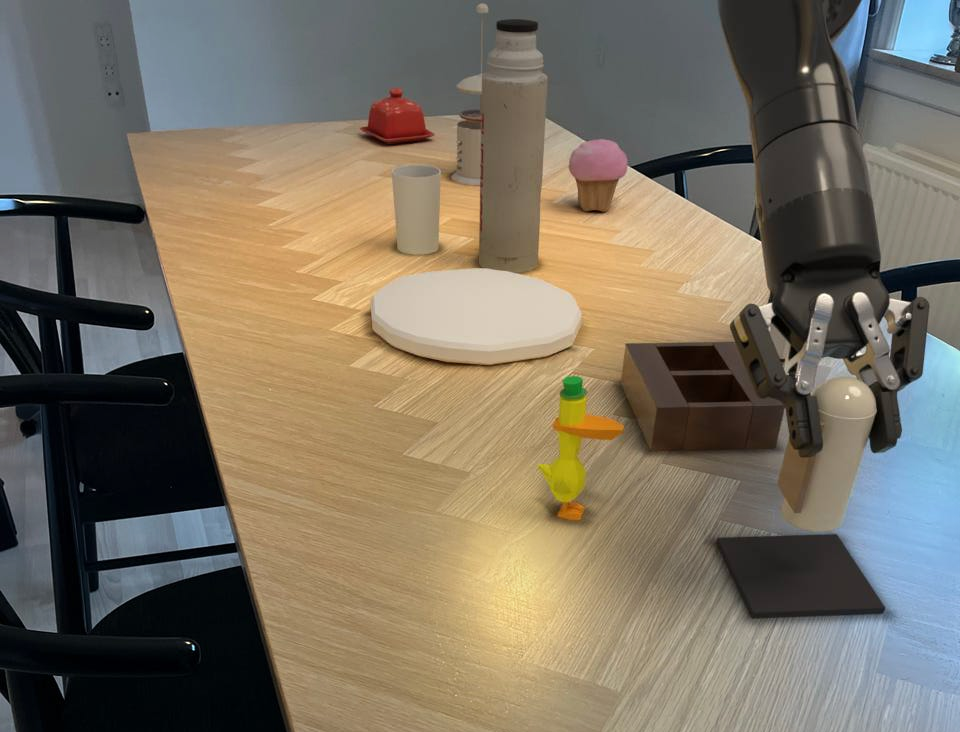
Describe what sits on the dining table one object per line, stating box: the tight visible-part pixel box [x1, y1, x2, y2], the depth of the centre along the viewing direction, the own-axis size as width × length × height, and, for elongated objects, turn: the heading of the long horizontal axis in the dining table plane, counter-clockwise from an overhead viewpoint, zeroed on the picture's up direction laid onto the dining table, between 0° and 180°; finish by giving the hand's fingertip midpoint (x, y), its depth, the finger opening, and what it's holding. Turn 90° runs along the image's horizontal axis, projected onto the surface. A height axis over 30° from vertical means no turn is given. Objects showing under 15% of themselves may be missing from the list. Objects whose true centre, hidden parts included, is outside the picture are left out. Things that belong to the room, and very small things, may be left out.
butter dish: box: [359, 87, 436, 145], centre depth 185 cm, size 12×12×8 cm
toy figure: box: [536, 375, 625, 521], centre depth 79 cm, size 7×4×12 cm, turn 76°
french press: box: [450, 3, 489, 186], centre depth 159 cm, size 10×12×25 cm
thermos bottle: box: [478, 18, 549, 274], centre depth 123 cm, size 8×8×28 cm
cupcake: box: [568, 138, 628, 213], centre depth 149 cm, size 9×9×10 cm
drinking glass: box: [391, 164, 442, 255], centre depth 133 cm, size 7×7×10 cm
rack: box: [620, 341, 786, 453], centre depth 96 cm, size 12×15×4 cm
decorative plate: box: [370, 267, 583, 366], centre depth 114 cm, size 25×4×25 cm
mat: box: [715, 533, 886, 619], centre depth 76 cm, size 10×10×1 cm
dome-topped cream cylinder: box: [776, 375, 877, 533], centre depth 69 cm, size 5×4×11 cm
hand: (848, 450), depth 66 cm, fingers closed on dome-topped cream cylinder, 4 cm apart
